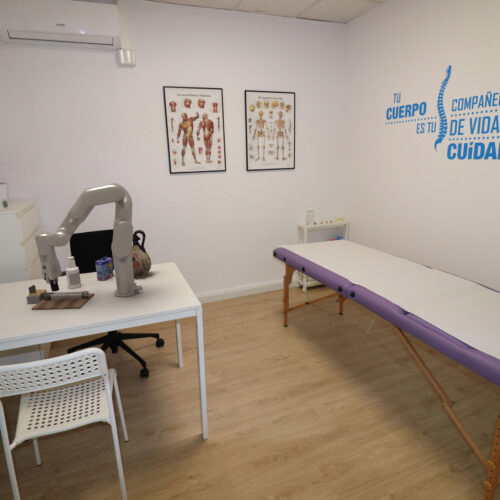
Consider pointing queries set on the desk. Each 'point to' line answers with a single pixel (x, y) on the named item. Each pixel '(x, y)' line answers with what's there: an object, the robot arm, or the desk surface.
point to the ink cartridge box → (104, 268)
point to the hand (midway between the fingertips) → (55, 290)
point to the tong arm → (66, 296)
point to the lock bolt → (35, 291)
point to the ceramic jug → (140, 256)
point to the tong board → (61, 304)
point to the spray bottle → (72, 274)
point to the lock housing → (35, 299)
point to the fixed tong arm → (64, 293)
